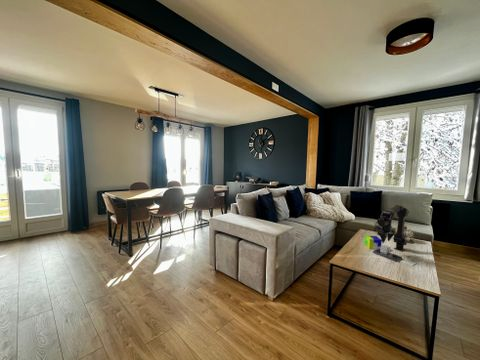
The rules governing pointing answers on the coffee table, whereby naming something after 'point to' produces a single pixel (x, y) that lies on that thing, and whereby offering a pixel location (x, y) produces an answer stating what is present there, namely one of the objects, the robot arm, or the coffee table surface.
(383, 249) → the brushed metal block
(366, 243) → the puzzle toy
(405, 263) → the mat
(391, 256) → the slotted plate
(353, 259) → the coffee table surface
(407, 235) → the owl figurine
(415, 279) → the coffee table surface
